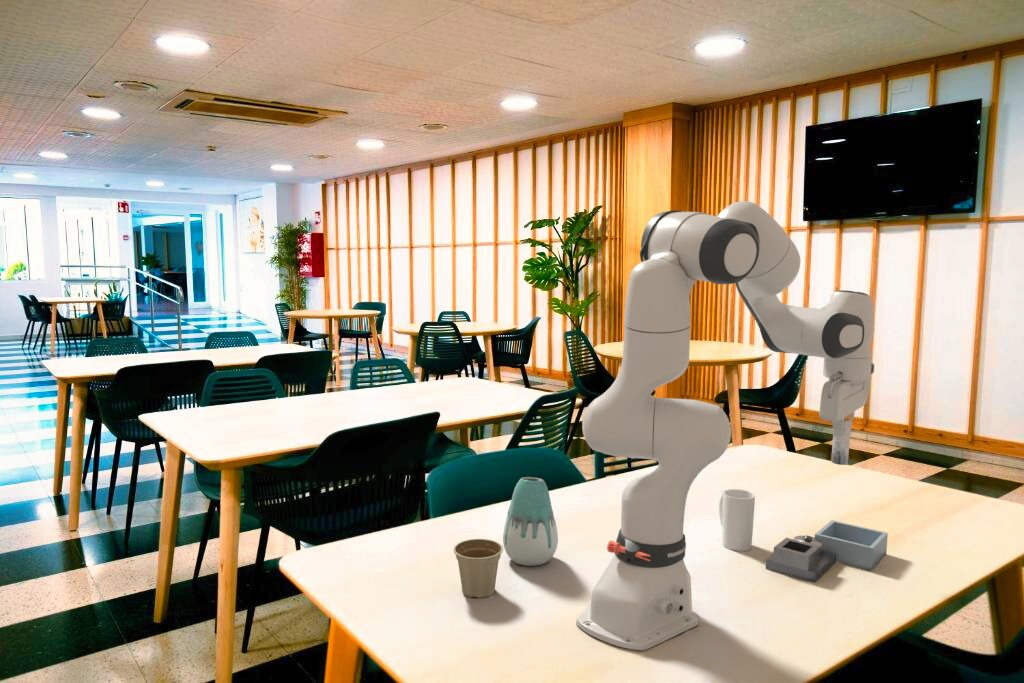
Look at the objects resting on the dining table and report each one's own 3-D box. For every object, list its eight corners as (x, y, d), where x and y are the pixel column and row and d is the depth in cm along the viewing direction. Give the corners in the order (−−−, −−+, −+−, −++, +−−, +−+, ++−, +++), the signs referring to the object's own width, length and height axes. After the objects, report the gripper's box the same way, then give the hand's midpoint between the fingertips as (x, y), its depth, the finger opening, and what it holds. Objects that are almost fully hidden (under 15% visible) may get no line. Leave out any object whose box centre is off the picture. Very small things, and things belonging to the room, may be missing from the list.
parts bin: (871, 570, 147) (873, 548, 146) (813, 555, 154) (814, 534, 154) (886, 554, 155) (887, 532, 155) (830, 540, 163) (832, 520, 162)
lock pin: (845, 465, 147) (849, 414, 146) (829, 462, 150) (832, 411, 148) (849, 462, 150) (853, 411, 148) (834, 459, 152) (837, 408, 150)
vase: (529, 544, 159) (530, 466, 157) (568, 560, 151) (570, 478, 149) (491, 559, 151) (492, 477, 149) (530, 576, 143) (531, 490, 141)
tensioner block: (815, 582, 141) (816, 557, 140) (765, 568, 147) (766, 544, 147) (835, 562, 151) (837, 539, 150) (788, 550, 157) (789, 527, 157)
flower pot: (484, 607, 130) (484, 562, 129) (443, 594, 135) (443, 550, 134) (512, 588, 138) (512, 545, 137) (472, 576, 142) (472, 535, 142)
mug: (759, 549, 157) (761, 496, 156) (734, 553, 155) (736, 500, 154) (730, 533, 167) (732, 483, 166) (706, 536, 165) (708, 486, 163)
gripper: (846, 378, 137) (842, 447, 139) (877, 363, 152) (872, 426, 154) (813, 374, 141) (809, 441, 143) (845, 360, 156) (841, 421, 158)
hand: (842, 433), depth 149 cm, fingers closed on lock pin, 3 cm apart
